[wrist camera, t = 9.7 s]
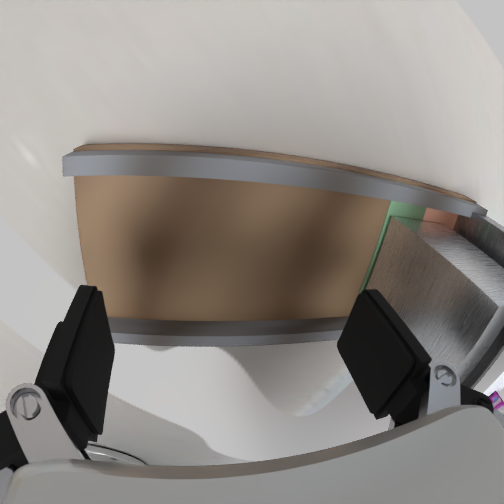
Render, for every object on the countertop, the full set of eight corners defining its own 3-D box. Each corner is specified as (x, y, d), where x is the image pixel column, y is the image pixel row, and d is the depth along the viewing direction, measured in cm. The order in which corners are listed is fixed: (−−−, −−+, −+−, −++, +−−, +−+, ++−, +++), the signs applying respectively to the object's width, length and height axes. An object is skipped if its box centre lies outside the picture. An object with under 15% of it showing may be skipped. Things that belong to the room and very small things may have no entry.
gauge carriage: (450, 212, 15) (550, 287, 7) (408, 311, 18) (474, 397, 11) (396, 200, 14) (520, 295, 6) (354, 316, 17) (420, 425, 10)
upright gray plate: (474, 208, 16) (535, 249, 10) (430, 311, 20) (472, 361, 15) (460, 204, 15) (525, 247, 10) (414, 313, 19) (457, 367, 14)
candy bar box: (469, 414, 60) (490, 448, 46) (474, 407, 57) (497, 443, 43) (490, 397, 60) (511, 429, 46) (496, 389, 58) (518, 422, 44)
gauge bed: (465, 196, 16) (488, 208, 14) (420, 307, 21) (435, 325, 19) (83, 144, 11) (62, 154, 9) (101, 314, 16) (92, 342, 14)
